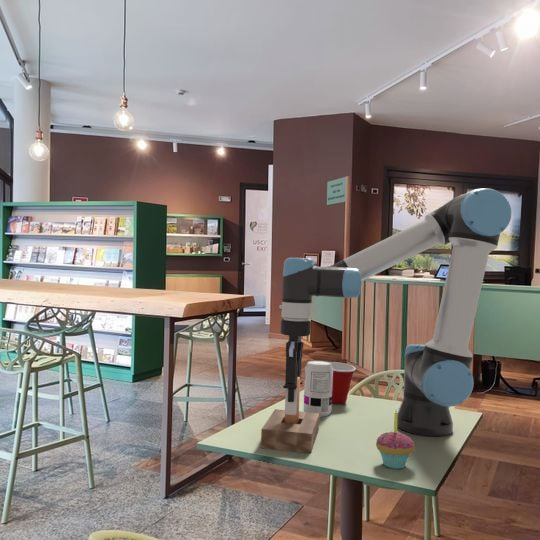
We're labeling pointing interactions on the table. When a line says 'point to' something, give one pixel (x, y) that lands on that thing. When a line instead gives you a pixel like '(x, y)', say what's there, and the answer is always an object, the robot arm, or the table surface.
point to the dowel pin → (294, 418)
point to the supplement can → (318, 387)
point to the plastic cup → (341, 381)
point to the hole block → (290, 432)
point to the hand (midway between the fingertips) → (291, 411)
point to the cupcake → (395, 447)
